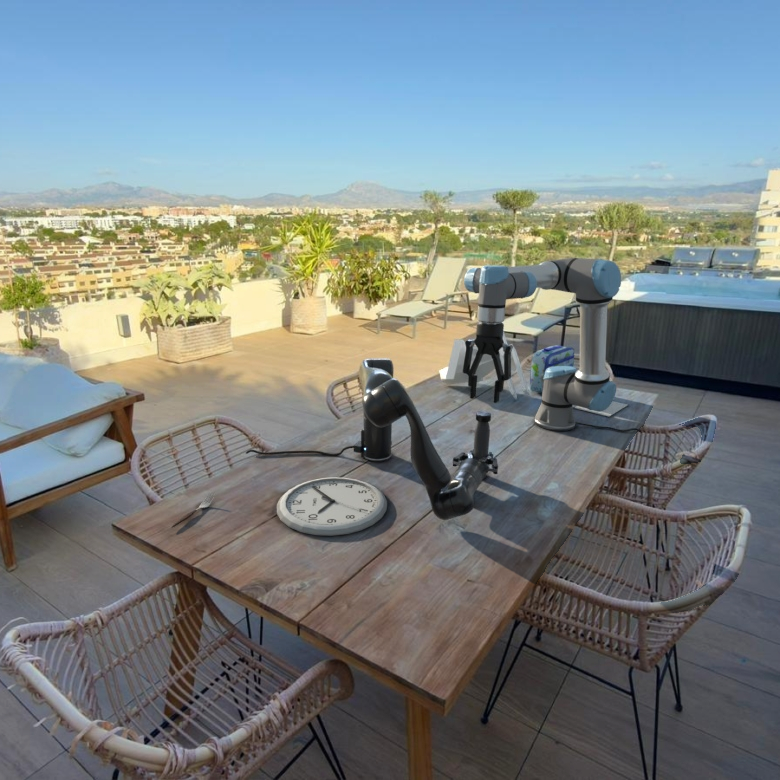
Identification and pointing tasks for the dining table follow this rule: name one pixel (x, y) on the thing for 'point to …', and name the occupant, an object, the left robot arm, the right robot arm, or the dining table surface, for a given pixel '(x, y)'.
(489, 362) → the white plastic object
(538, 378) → the lunch box
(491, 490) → the dining table surface
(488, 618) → the dining table surface
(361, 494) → the wall clock
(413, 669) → the dining table surface
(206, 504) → the fork
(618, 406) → the invitation card
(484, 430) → the bottle
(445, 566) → the dining table surface
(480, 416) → the cap
